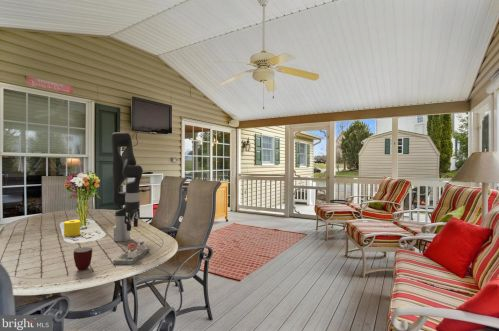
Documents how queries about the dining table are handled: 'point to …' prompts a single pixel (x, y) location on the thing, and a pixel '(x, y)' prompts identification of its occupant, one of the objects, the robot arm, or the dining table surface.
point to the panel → (125, 260)
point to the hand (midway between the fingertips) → (132, 228)
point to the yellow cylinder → (72, 228)
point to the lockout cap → (131, 246)
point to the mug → (82, 258)
